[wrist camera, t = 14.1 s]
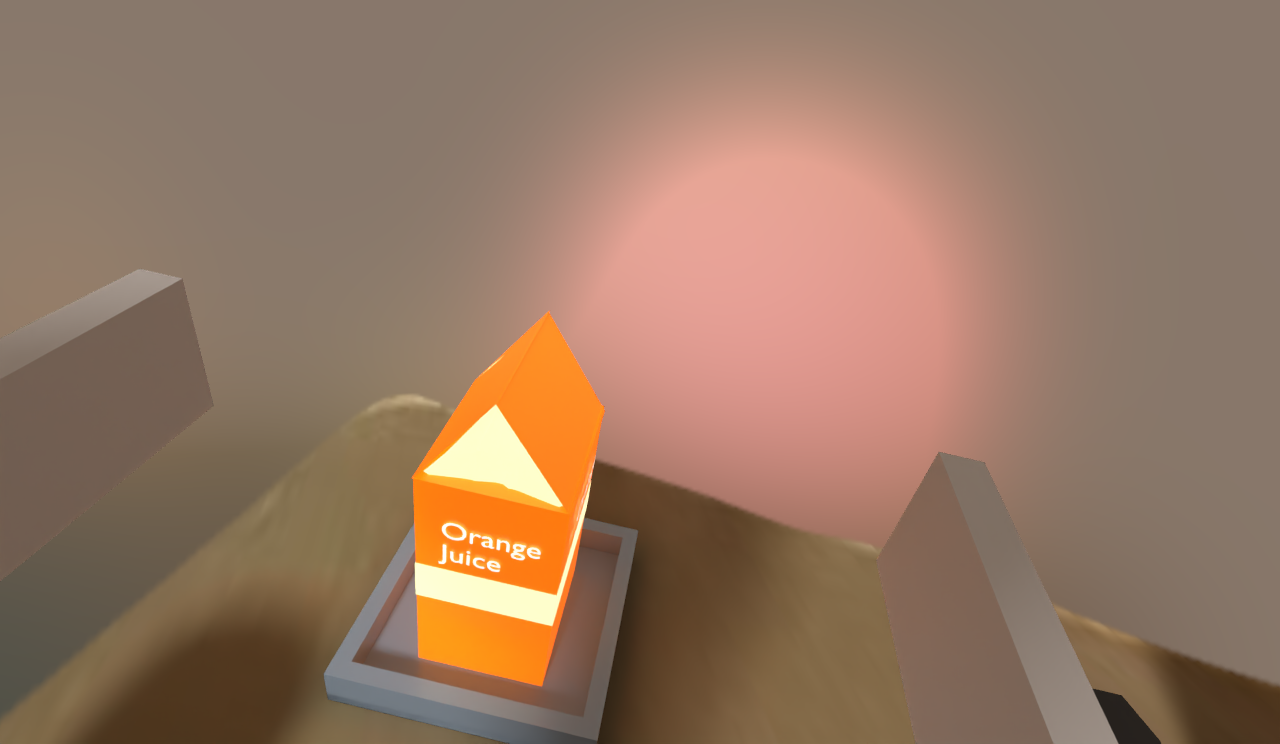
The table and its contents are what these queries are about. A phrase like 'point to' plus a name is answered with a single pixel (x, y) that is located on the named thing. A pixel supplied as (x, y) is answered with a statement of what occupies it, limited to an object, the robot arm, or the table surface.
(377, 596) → the dish
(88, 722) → the table surface
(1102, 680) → the table surface
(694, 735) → the table surface
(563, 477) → the orange juice
